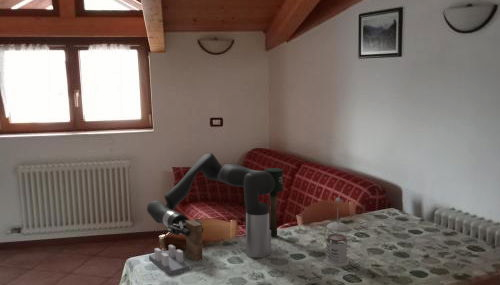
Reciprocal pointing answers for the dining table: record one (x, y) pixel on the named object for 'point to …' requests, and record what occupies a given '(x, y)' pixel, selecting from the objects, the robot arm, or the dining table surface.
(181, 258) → the hinge base
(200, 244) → the brown wooden block
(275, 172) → the potato masher grenade
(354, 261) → the dining table surface
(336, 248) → the french press
